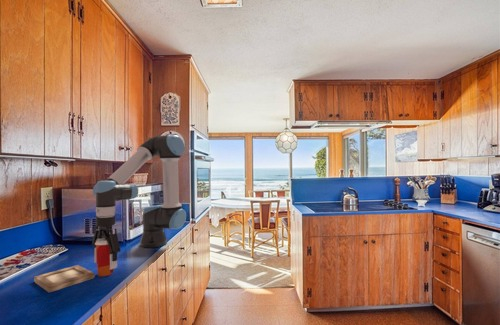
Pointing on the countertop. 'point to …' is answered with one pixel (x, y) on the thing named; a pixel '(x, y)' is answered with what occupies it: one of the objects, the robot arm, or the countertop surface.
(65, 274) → the square tray
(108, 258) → the coffee cup
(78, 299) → the countertop surface
